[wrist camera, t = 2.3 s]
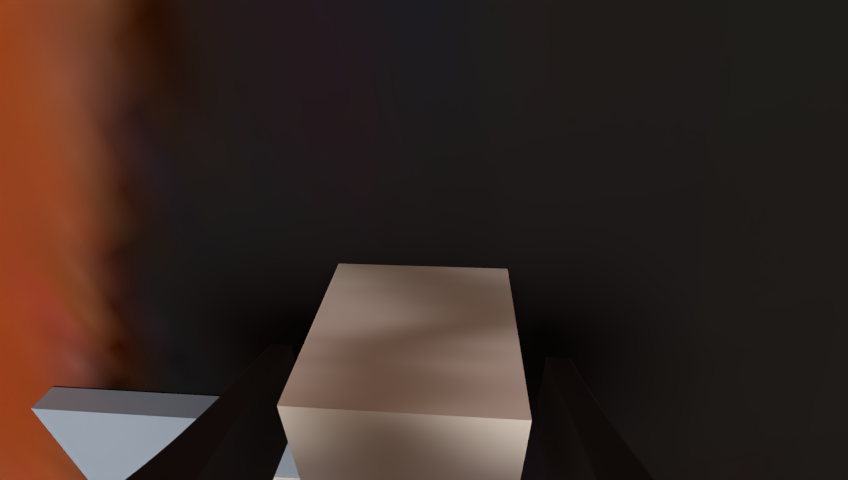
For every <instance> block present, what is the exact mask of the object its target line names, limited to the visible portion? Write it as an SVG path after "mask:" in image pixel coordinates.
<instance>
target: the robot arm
mask: <svg viewBox="0 0 848 480" xmlns="http://www.w3.org/2000/svg"><path fill="white" fill-rule="evenodd" d="M295 363H296V361H295V357H294V353H293V350H292V346H291V345H278V344H271V345H269V346H268V347H267V348H266V349H265V350H264V351H263V352H262V353H261V354H260V356H259V357H258V358H257V359H256V360H255V361H254V362H253V363H252V364H251V365H250V366H249V367H248V368H247V369H246V370H245V371H244V372H243V373H242V374H241V375H240V376H239V377H238V379H237V380H236V381H235V382H234V383H233V384H232V385H231V386H230V387H229V388H228V389H227V390H226V391H225V392H224V393H223V394H222V395H221V396H220V397H219V398H218V399H217V400H216V401H215V402H214V403H213V404H212V405H211V406H210V407H209V408H208V409H207V410H206V411H204V412H203V413H202V414H201V415H200V416H199V417H198V418H197V419H196V420H195V421H194V422H193V423H192V424H190V425H189V426H188V427H187V428H186V429H185V430H184V431H183V432H182V433H181V434H180V435H179V436H177V437H176V438H175V439H174V440H173V441H172V442H171V443H169V444H168V445H167V446H166V447H165V448H164V449H162V450H161V451H160V452H159V453H158V454H157V455H155V456H154V457H153V458H152V459H150V460H149V461H148V462H147V463H146V464H144V465H143V466H142V467H141V468H139V469H138V470H137V471H136V472H134V473H133V474H132V475H130V476H129V477H128V478H126V479H125V480H273V479H274V476H275V474H276V471H277V469H278V466H279V464H280V461H281V459H282V456H283V454H284V451H285V449H286V446H287V444H288V440H287V437H286V433H285V430H284V427H283V424H282V421H281V418H280V415H279V411H278V408H277V404H278V402H279V400H280V397H281V395H282V393H283V390H284V388H285V386H286V383H287V381H288V379H289V377H290V374H291V372H292V370H293V367H294V365H295ZM536 405H537V414H538V424H539V432H540V440H541V445H542V450H543V454H544V459H545V463H546V468H547V472H548V477H549V480H655V479H654V478H653V476H652V475H651V474H650V473H649V471H648V470H647V469H646V468H645V467H644V465H643V464H642V463H641V461H640V460H639V459H638V458H637V456H636V455H635V454H634V452H633V451H632V450H631V449H630V447H629V446H628V445H627V443H626V442H625V440H624V439H623V438H622V436H621V435H620V434H619V432H618V431H617V429H616V428H615V427H614V425H613V424H612V422H611V421H610V420H609V418H608V417H607V415H606V414H605V412H604V411H603V409H602V408H601V407H600V405H599V404H598V402H597V401H596V399H595V397H594V396H593V394H592V393H591V391H590V390H589V388H588V387H587V385H586V383H585V382H584V380H583V379H582V377H581V375H580V374H579V372H578V370H577V369H576V367H575V365H574V364H573V362H572V361H571V360H570V359H569V358H563V357H546V359H545V364H544V369H543V374H542V379H541V384H540V389H539V394H538V399H537V404H536Z"/></svg>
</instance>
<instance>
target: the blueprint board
mask: <svg viewBox="0 0 848 480" xmlns="http://www.w3.org/2000/svg"><path fill="white" fill-rule="evenodd" d="M219 397H220V396H204V395H186V394H169V393H151V392H134V391H116V390H98V389H81V388H63V387H52V388H51V389H50V390H49V391H48V392H47V393H46V394H45V395H44V396H43V397H42V398H41V399H40V400H39V401H38V402H37V403H36V404H35V405H34V406H33V407H32V408H31V409H32V410H33V412H34V413H35V414H36V415H37V417H38V418H39V419H40V420H41V422H42V423H43V424H44V425H45V427H46V428H47V429H48V430H49V432H50V433H51V434H52V435H53V437H54V438H55V439H56V440H57V442H58V443H59V444H60V445H61V446H62V448H63V449H64V450H65V451H66V453H67V454H68V455H69V456H70V458H71V459H72V460H73V461H74V463H75V464H76V465H77V466H78V468H79V469H80V470H81V471H82V473H83V474H84V475H85V476H86V478H87V479H88V480H125V479H126V478H128V477H129V476H130V475H132V474H133V473H134V472H136V471H137V470H138V469H139V468H141V467H142V466H143V465H144V464H146V463H147V462H148V461H149V460H150V459H152V458H153V457H154V456H155V455H157V454H158V453H159V452H160V451H161V450H162V449H164V448H165V447H166V446H167V445H168V444H169V443H171V442H172V441H173V440H174V439H175V438H176V437H177V436H179V435H180V434H181V433H182V432H183V431H184V430H185V429H186V428H187V427H188V426H189V425H190V424H192V423H193V422H194V421H195V420H196V419H197V418H198V417H199V416H200V415H201V414H202V413H203V412H204V411H206V410H207V409H208V408H209V407H210V406H211V405H212V404H213V403H214V402H215V401H216V400H217V399H218V398H219ZM273 480H300V478H299V474H298V471H297V468H296V465H295V462H294V459H293V455H292V452H291V449H290V446H289V443H288V444H287V446H286V449H285V451H284V454H283V456H282V459H281V461H280V464H279V466H278V469H277V471H276V474H275V476H274V479H273Z"/></svg>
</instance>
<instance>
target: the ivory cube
mask: <svg viewBox="0 0 848 480" xmlns="http://www.w3.org/2000/svg"><path fill="white" fill-rule="evenodd" d="M277 408H278V411H279V415H280V418H281V421H282V424H283V427H284V430H285V433H286V437H287V440H288V443H289V446H290V449H291V452H292V455H293V459H294V462H295V465H296V468H297V471H298V474H299V478H300V480H520V479H521V473H522V468H523V463H524V458H525V453H526V448H527V443H528V438H529V433H530V427H531V422H532V418H531V412H530V406H529V400H528V394H527V387H526V381H525V375H524V369H523V363H522V356H521V350H520V344H519V338H518V332H517V325H516V319H515V313H514V307H513V300H512V294H511V288H510V282H509V276H508V269H495V268H462V267H430V266H397V265H365V264H338V266H337V269H336V271H335V273H334V276H333V278H332V280H331V282H330V285H329V287H328V289H327V292H326V294H325V296H324V298H323V301H322V303H321V305H320V308H319V310H318V312H317V315H316V317H315V319H314V321H313V324H312V326H311V328H310V331H309V333H308V335H307V338H306V340H305V342H304V344H303V347H302V349H301V351H300V354H299V356H298V358H297V360H296V363H295V365H294V367H293V370H292V372H291V374H290V377H289V379H288V381H287V383H286V386H285V388H284V390H283V393H282V395H281V397H280V400H279V402H278V404H277Z"/></svg>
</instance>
